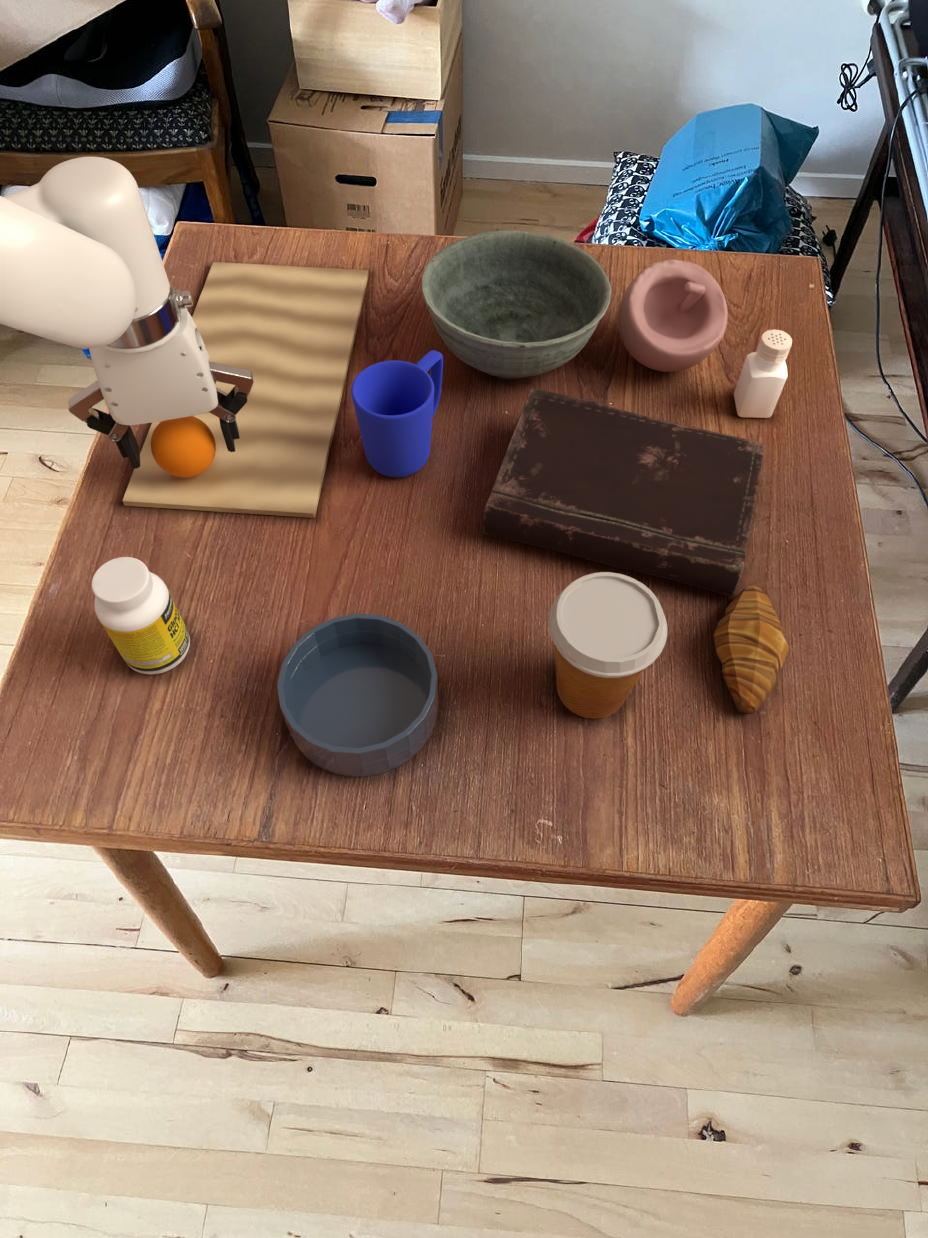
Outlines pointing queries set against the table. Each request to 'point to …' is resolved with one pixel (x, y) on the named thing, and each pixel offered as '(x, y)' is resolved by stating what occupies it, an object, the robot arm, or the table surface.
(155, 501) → the serving board
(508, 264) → the bowl
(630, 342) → the mortar and pestle
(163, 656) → the pill bottle
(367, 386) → the mug
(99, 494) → the table surface
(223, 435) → the robot arm
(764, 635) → the croissant
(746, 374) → the salt shaker
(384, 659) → the fruit bowl
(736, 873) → the table surface
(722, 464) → the diary
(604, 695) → the disposable coffee cup
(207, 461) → the orange
